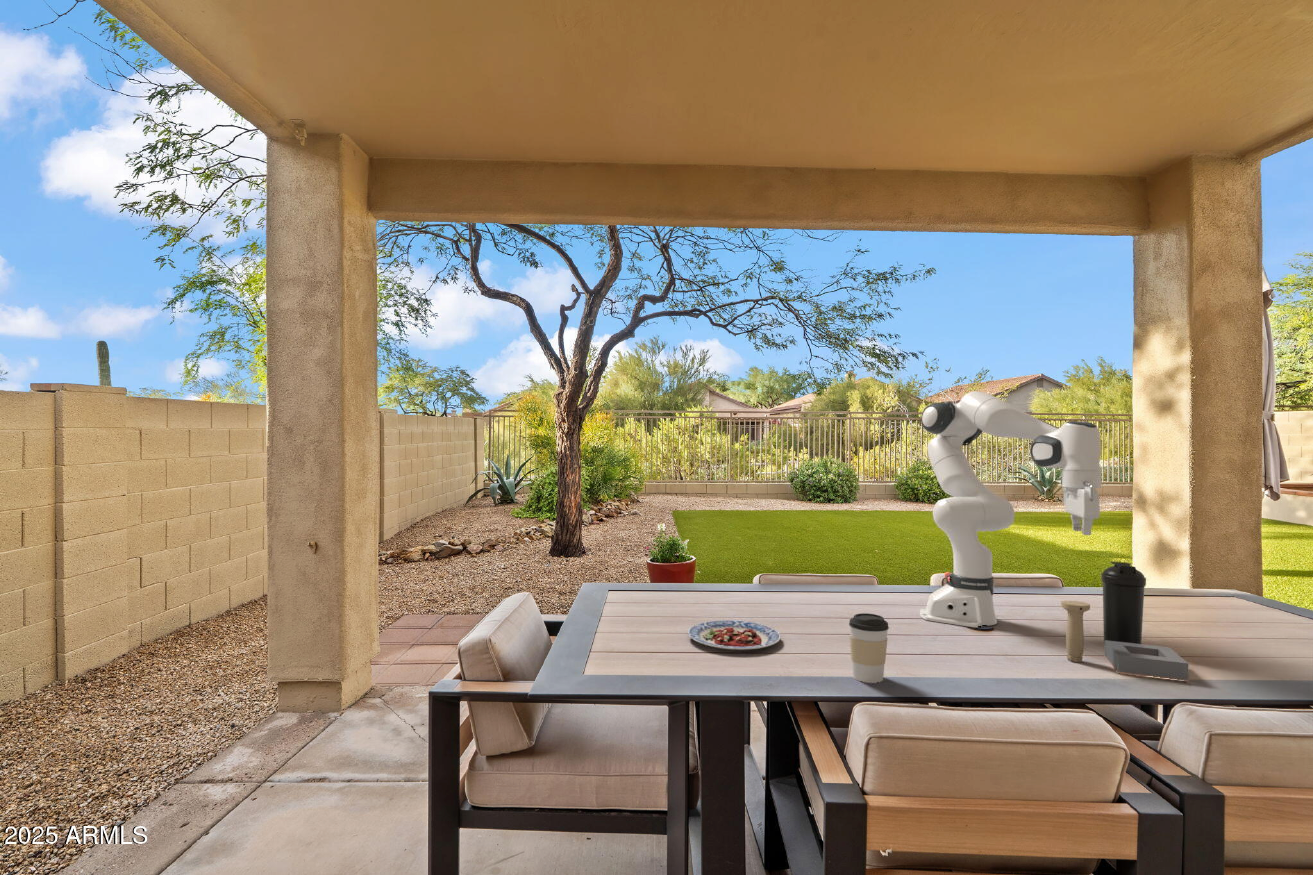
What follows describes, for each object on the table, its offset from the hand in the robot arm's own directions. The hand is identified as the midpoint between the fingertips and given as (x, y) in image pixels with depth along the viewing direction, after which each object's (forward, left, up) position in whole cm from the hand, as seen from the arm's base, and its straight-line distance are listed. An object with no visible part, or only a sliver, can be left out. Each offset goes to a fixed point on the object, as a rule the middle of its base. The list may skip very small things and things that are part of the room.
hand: (1081, 532), depth 176 cm
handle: (-3, -7, -33) cm, 34 cm away
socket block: (+12, -7, -33) cm, 36 cm away
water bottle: (+12, +12, -33) cm, 37 cm away
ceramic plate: (-89, -26, -33) cm, 98 cm away
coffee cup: (-52, -41, -33) cm, 74 cm away
